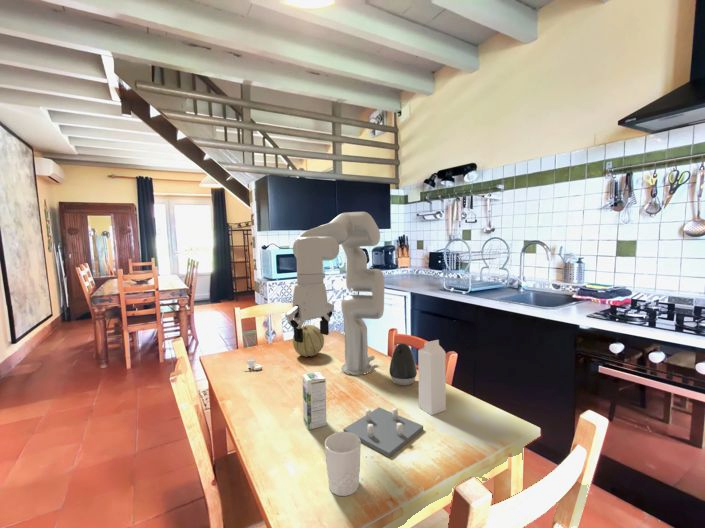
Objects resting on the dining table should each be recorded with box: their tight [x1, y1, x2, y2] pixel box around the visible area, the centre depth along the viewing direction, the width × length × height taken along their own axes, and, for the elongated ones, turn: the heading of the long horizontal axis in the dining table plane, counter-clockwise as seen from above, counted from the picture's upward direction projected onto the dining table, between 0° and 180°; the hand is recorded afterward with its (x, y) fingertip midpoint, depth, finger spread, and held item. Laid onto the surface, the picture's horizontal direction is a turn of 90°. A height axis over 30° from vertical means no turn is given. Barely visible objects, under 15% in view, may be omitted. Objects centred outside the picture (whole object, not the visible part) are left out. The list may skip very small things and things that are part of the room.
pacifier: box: [246, 358, 263, 371], centre depth 142 cm, size 9×8×4 cm
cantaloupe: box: [292, 324, 325, 358], centre depth 156 cm, size 15×15×15 cm
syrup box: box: [302, 371, 327, 431], centre depth 98 cm, size 6×6×14 cm
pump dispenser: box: [389, 342, 418, 386], centre depth 124 cm, size 10×10×15 cm
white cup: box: [324, 431, 362, 497], centre depth 73 cm, size 8×8×10 cm
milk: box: [417, 339, 447, 416], centre depth 104 cm, size 6×6×22 cm
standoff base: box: [343, 406, 424, 458], centre depth 93 cm, size 16×16×4 cm
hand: (312, 337), depth 96 cm, fingers open, 9 cm apart
